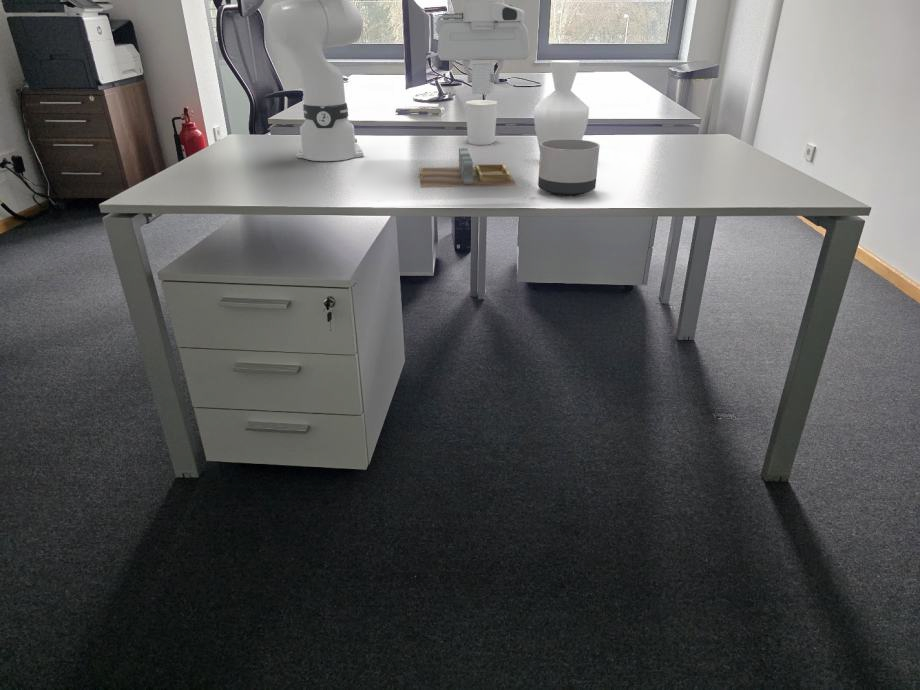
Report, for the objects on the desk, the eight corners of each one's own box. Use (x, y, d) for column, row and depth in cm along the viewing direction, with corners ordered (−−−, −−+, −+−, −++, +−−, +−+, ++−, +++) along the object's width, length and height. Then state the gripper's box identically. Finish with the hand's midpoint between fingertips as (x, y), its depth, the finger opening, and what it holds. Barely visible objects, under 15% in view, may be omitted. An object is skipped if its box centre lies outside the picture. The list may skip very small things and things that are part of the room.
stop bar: (472, 94, 136) (471, 64, 133) (476, 90, 143) (476, 62, 140) (490, 94, 135) (490, 64, 132) (493, 90, 142) (494, 62, 139)
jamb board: (419, 172, 157) (418, 147, 154) (504, 170, 158) (505, 146, 155) (420, 192, 139) (419, 164, 136) (516, 190, 140) (517, 162, 138)
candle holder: (467, 139, 198) (467, 99, 192) (498, 140, 197) (499, 100, 191) (463, 145, 189) (463, 103, 184) (495, 146, 188) (496, 104, 182)
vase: (534, 155, 175) (539, 59, 163) (584, 157, 173) (593, 59, 161) (529, 166, 163) (534, 62, 151) (583, 168, 160) (592, 63, 149)
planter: (556, 202, 132) (560, 152, 127) (527, 188, 142) (529, 141, 137) (606, 195, 137) (611, 147, 132) (574, 182, 147) (578, 137, 142)
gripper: (433, 13, 130) (435, 83, 137) (529, 11, 127) (527, 83, 134) (438, 13, 136) (440, 81, 142) (531, 11, 133) (528, 81, 139)
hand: (483, 82), depth 138 cm, fingers closed on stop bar, 4 cm apart
